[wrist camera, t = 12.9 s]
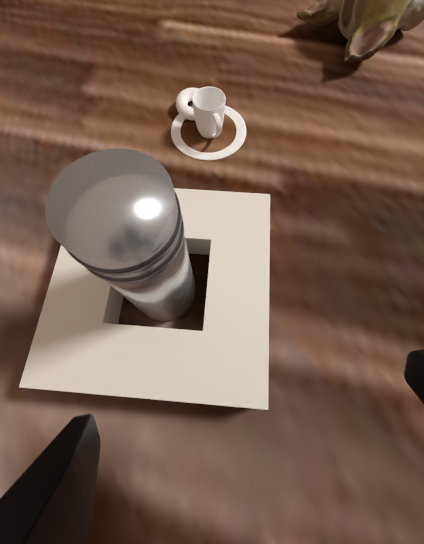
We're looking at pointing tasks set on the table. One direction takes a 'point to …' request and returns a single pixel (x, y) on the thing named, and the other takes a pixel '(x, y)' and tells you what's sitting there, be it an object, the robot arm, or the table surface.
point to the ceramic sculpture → (365, 22)
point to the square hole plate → (165, 341)
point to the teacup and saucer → (206, 120)
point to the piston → (125, 228)
